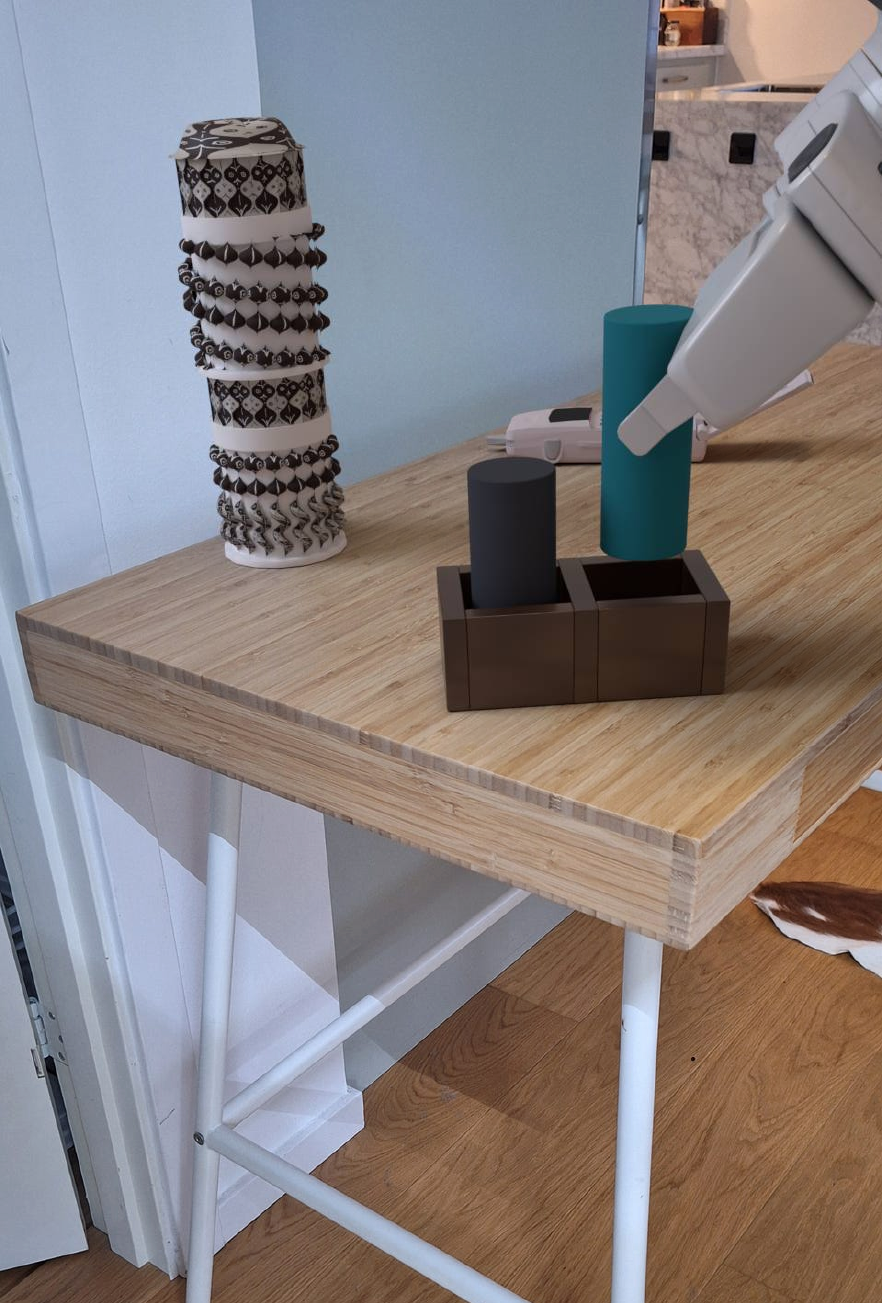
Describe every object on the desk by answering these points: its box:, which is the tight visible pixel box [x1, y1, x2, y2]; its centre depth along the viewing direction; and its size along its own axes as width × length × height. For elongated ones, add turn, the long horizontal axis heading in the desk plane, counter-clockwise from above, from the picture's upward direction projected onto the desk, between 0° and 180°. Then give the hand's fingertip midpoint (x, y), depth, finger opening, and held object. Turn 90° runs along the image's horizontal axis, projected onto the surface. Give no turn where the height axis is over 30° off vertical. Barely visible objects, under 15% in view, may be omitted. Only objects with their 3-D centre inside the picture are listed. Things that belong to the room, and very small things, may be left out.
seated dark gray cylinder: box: [466, 456, 557, 609], centre depth 70 cm, size 4×4×11 cm
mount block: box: [435, 549, 732, 712], centre depth 72 cm, size 14×8×5 cm, turn 92°
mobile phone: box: [486, 368, 815, 464], centre depth 105 cm, size 6×6×25 cm
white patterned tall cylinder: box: [168, 116, 348, 569], centre depth 85 cm, size 9×9×25 cm
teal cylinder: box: [599, 303, 694, 561], centre depth 66 cm, size 4×4×11 cm
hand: (635, 426), depth 66 cm, fingers closed on teal cylinder, 4 cm apart
